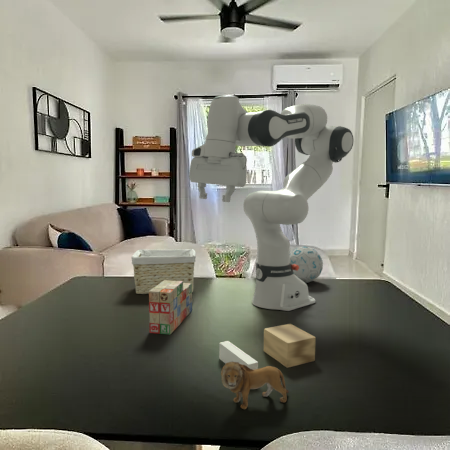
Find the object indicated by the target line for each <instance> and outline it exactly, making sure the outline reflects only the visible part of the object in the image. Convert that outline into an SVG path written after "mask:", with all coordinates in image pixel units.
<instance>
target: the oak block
mask: <svg viewBox="0 0 450 450" xmlns="http://www.w3.org/2000/svg"><path fill="white" fill-rule="evenodd" d="M263 352H264V353H266V354H267V355H269V356H270V357H271V358H273V359H274V360H276V361H277V362H278V363H280V364H281V365H283V366H284V367H286V368H287V369H288V368H291V367H296V366H299V365H303V364H308V363H312V362H314V361H316V336H314V335H312V334H310V333H309V332H306V331H305V330H303V329H301V328H299V327H297V326H296V325H293V324H292V323H287V324H286V323H285V324H281V325H277V326H276V325H275V326H271V327H266V328H264V329H263Z"/></svg>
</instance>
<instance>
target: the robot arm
mask: <svg viewBox="0 0 450 450" xmlns="http://www.w3.org/2000/svg"><path fill="white" fill-rule="evenodd" d="M327 123H328V114H327V111H326V110H325V109H324V108H323V107H321V106H320V105H316V104H310V103H305V104H295V105H292V106H289V107H286V108H284V109H282V111H281V112H277V111H276V110H272V109H264V110H260V111H255V112H254V111H253V112H252V111H251V112H249V111H247V110H246V109H244V107H243V105H241V102H240V99H239V97H238V96H236V95H227V94H226V95H218V96H215V97H214V98H212V101H210V106H209V109H208V115H207V123H206V124H207V125H206V126H207V134H206V137H205V139H204V140H205V143H204V144H202V145H200V146H198V147H196V148H193V149H192V151H191V157H193V158H192V159H191V160H190V165H189V175H188V178H189V181H190V182H191V183H196V184H197V189H198V191H199V199H200V200H202V199H203V200H207V198H208V193H207V192H206V188H207V184H209V185H215V186H217V185H218V186H226V187H225V188H226V192H225V194H224V195H222V199H221V200H222V202H223V203H224V202H225V203H230V202H231V197H232V195H233V194H234V192H235V190H236V187H238V188H239V187H240V188H244V187H245V186H246V184H247V180H248V179H247V175H248V173H247V172H248V170H247V162H248V160H247V159H248V158H247V157H246V155H245V154H244V153H242V152H236V146H238V147H274V146H275V145H277V144H278V143H279V142H280V141H282V140H283V139H284V138H287V139H294V146H295V148H296V150H297V152H298V153H300V154H302V155H305V156H308V158H307V159H306V160H305V161H303V162H302V163H301V164H300V165H298V166H297V167H295V168H294V170H292V171H291V172H289V173H288V174H287V175H286V176H285V177H284V179H283V187H282V188H280V189H277V190H262V189H261V190H257V191H254V192H253V191H252V192H249V194H247V196H246V197H245V198H244V201H243V211H244V214H245V215H246V216H247V218H248V219H249V220H250V222H251V224H252V227H253V229H254V233H255V237H256V246H257V247H256V249H257V250H256V251H257V254H256V255H257V257H256V259H257V260H256V263H255V279H256V281H255V287H254V294H253V297H252V300H251V303H252V304H253V305H254V306H256V307H259V308H262V309H268V310H280V311H287V312H289V311H293V310H297V309H299V308H300V309H301V308H302V307H307V306H309V305H313V304H316V299H315V298H314V297H313V296H311V295H310V293H309V287H308V284H307V283H305V282H303V281H302V280H301V279H299V278H298V277H297V276H296V275H295V274H293V273H294V272H293V270H296V271H298V269H299V265H296V264H293V265H292V264H290V253H291V242H290V240H289V238H288V237H287V236H286V235H285V233H284V231H283V230H282V227H281V225H283V226H284V225H285V226H292V225H296V224H301V223H302V222H304V221H305V219H306V218H307V217H308V214H309V203H308V200H309V199H310V198H311V197H312V196H313V195H314V194H315V193H316V192H318V191H319V189H321V187H323V186H324V184H325V183H326V182H327V181H328V180H329V178H330V177H331V176H332V173H333V163H340V162H341V161H342V160H343V159H344V158H345V157H346V156H347V155H348V154H349V153H350V152H351V150H352V149H353V146H354V142H355V141H354V135H353V132H352V130H351V129H350V128H348V127H345V126H341V125H338V126H333V125H327Z"/></svg>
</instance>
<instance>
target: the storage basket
mask: <svg viewBox="0 0 450 450" xmlns="http://www.w3.org/2000/svg"><path fill="white" fill-rule="evenodd" d="M196 257H197V252H196V250H195V248H189V249H186V248H184V249H183V248H179V249H178V248H177V249H175V248H174V249H137V250H136V251H135V252H133V254H132V256H131V264H132V266H133V279H134V284H135V287H134V288H135V294H137V295H149V291H150V290H151V289H153V288H154V287H156V286H157V285H158V284H160V283H161V282H162V281H164V280H170V281H183V283H191V284H192V293H193V292H194V275H195V272H194V271H195V263H196Z"/></svg>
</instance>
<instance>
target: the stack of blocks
mask: <svg viewBox="0 0 450 450" xmlns="http://www.w3.org/2000/svg"><path fill="white" fill-rule="evenodd" d="M148 301H149V302H148V312H149V313H148V314H149V316H148V317H149V322H148V323H149V326H148V327H149V331H148V332H149V333H150V334H161V335H172V333H174V331H175V330H176V329H177V328H178V327H179V326H180V325H181V323H182V322H184V320H185V319H186V317H188V315H190V313H191V312H192V311H193V292H192V284H191V283H183V281H170V280H164V281H162V282H161V283H160V284H158V285H157V286H156V287H154V288H153V289H151V290H150V291H149V294H148Z"/></svg>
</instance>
